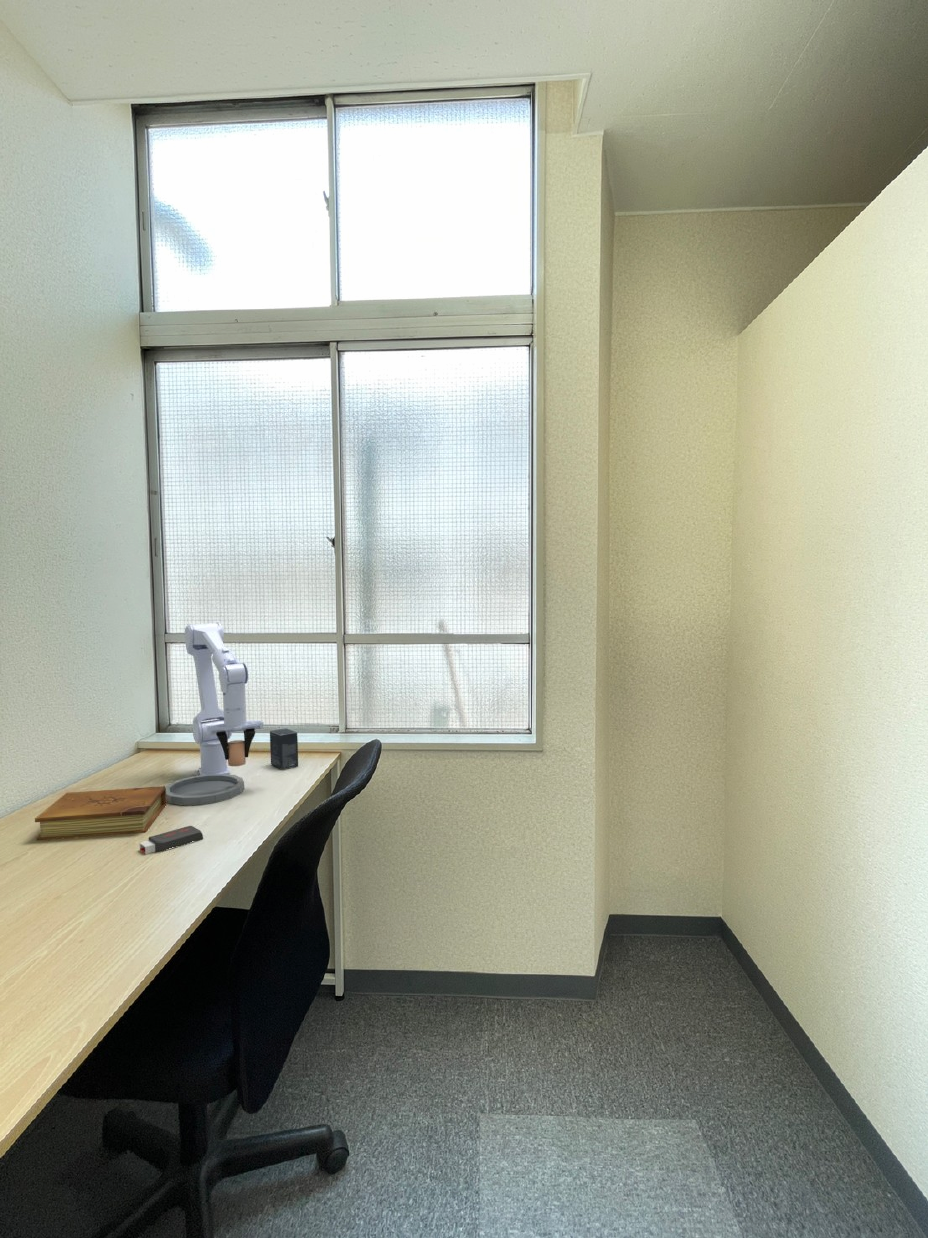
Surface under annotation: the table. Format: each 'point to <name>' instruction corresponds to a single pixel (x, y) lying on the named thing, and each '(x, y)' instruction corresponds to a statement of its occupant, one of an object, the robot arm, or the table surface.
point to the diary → (102, 813)
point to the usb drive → (171, 839)
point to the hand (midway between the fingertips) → (236, 757)
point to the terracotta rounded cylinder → (236, 753)
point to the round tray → (204, 789)
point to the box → (284, 748)
